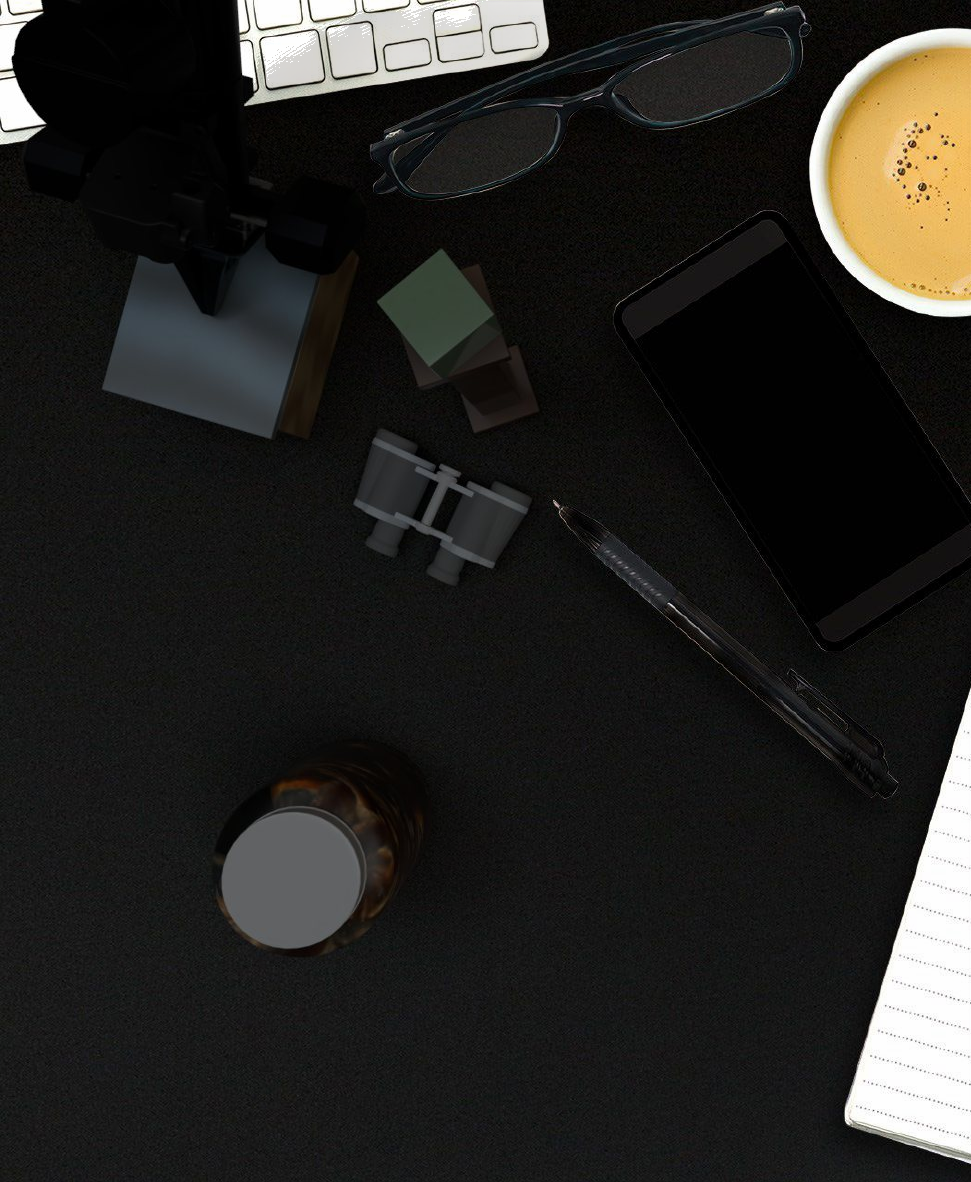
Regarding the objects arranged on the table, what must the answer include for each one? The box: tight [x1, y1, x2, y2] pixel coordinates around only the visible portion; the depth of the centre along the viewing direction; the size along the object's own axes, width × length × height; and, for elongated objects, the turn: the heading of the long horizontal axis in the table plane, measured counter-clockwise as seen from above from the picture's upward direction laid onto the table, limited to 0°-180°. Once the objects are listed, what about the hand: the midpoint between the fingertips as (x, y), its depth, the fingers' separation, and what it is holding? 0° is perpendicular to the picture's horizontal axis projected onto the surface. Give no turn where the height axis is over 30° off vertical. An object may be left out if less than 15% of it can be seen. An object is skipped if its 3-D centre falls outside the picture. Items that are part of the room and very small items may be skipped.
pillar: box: [398, 263, 542, 436], centre depth 65 cm, size 5×5×22 cm
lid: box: [101, 233, 321, 441], centre depth 69 cm, size 14×12×1 cm
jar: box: [211, 739, 434, 959], centre depth 70 cm, size 12×12×15 cm
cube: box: [376, 248, 504, 380], centre depth 52 cm, size 4×4×4 cm
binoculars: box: [353, 427, 533, 587], centre depth 75 cm, size 12×8×4 cm, turn 65°
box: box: [277, 250, 360, 440], centre depth 73 cm, size 14×12×7 cm
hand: (211, 312), depth 68 cm, fingers closed
